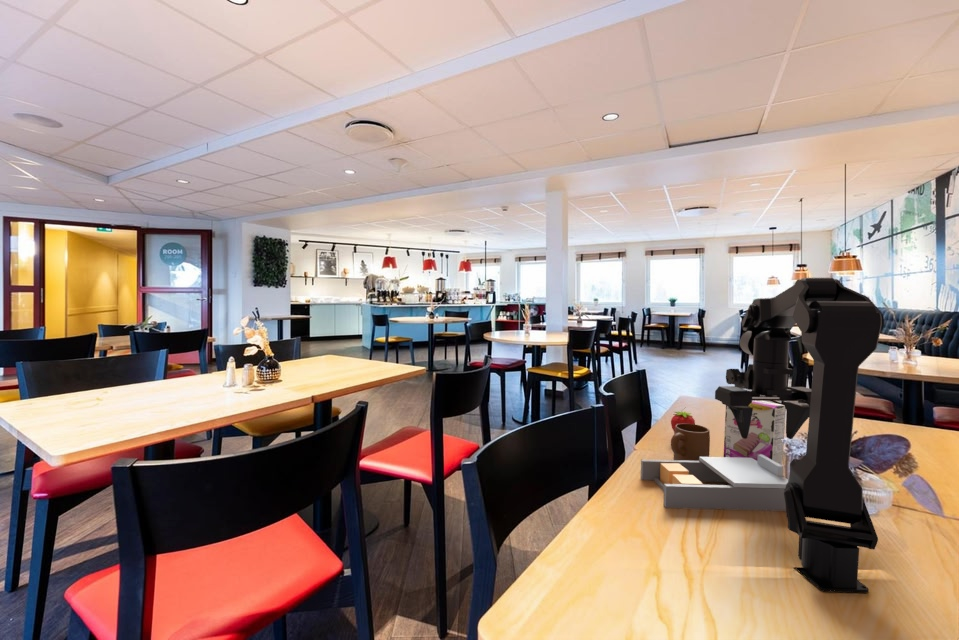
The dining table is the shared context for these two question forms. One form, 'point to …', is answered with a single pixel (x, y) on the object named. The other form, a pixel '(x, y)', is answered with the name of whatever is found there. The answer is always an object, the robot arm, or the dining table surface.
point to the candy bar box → (757, 433)
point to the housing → (711, 490)
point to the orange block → (685, 479)
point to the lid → (747, 471)
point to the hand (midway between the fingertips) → (766, 438)
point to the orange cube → (671, 471)
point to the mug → (690, 442)
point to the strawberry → (681, 419)
